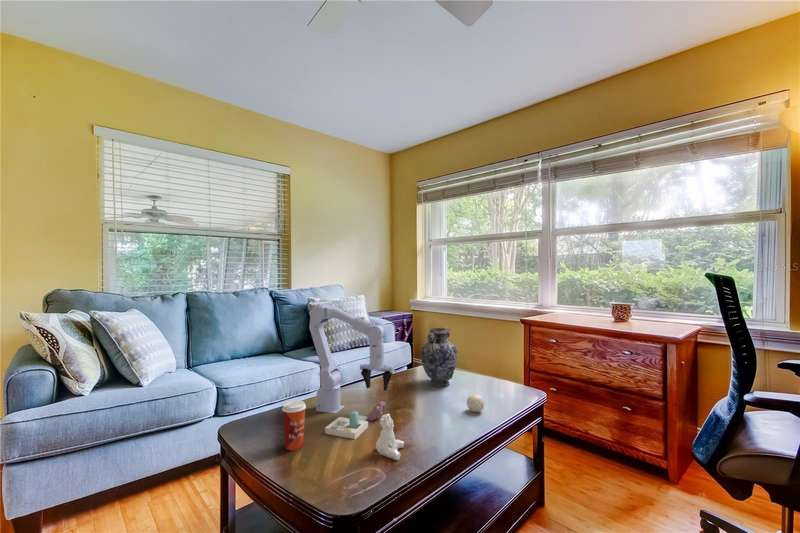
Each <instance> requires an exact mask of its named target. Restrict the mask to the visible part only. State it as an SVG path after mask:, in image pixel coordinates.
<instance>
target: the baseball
mask: <svg viewBox="0 0 800 533" xmlns="http://www.w3.org/2000/svg"><path fill="white" fill-rule="evenodd" d="M466 407H467V408H468V409H469V411H471V412H473V413H479V412H481V411H483V409H484V407H485V401H484V399H483V398H482V396H481V395H479V394H471V395H469V396H468V397H467V399H466Z"/></svg>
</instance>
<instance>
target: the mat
mask: <svg viewBox="0 0 800 533" xmlns="http://www.w3.org/2000/svg"><path fill="white" fill-rule="evenodd" d="M367 417H368V416H366V415H365V416H364V415H360V414H358V420H363V421H367Z"/></svg>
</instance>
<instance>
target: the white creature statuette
mask: <svg viewBox="0 0 800 533" xmlns="http://www.w3.org/2000/svg"><path fill="white" fill-rule="evenodd" d="M379 419H380V420H379V424H380V426H381V431H380V436H379V437H378V439H377V441H376V443H375V449H376V451H377V452H378V453H379V454H380V455H381V456H383V457H387V458H388V459H389V458H390V459H392V460H394V461H399V460H401V453H400V452H399V449H404V447H405V442H404V441H403V440H400V439H398V438H397V439H396V436H395V433H394V428H395V425H394V420H393V419H392V417H391V414H390V413H385V414H382V415H381V416H380V418H379Z"/></svg>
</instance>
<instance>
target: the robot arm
mask: <svg viewBox="0 0 800 533" xmlns="http://www.w3.org/2000/svg"><path fill="white" fill-rule="evenodd" d="M309 316H310V318H309V325H308V326H309V331H310V335H311V338H312V342H313V344H314V348H315V352H316V355H317V358H318V360H319V364H320V370H319V373H318V374H319V377H320V378H319V379H320V380H319V385H320V387H319V388H318V389H317V391H316V409H315V412H323V413H330V414H336V413H338V412H340V411H341V410H342V409H343V408H345V405H341V383H342V381H343V378H344V376H343V372H342V371H341V370H340V369H339V366H338V365H337V364H336V363H334V359H333V356H332V352H331V349H330V346H329V342H328V340H327V336H326V333H325V329H324V327H325V326H326V323H327V322H328V321H329V320H330V319H337V320H339V321H342V322H344V323H347V324H348V325H351V326H352V329H353V330H355V331H357V332H358V333H361V334H363V335H365V336H366V337H367V338H368V339H369V363H361V364H359V370H360V374H361V376H362V378H363V380H364V382H365V387H366V389H367V390H368V389H370V388H371V384H372V383H371V375H372V372H382V380H383V391H384V392H385V391H387V390H388V389H389V388H388V387H389V384H390V380H391V377H392V375H393V373H395V366H390V365H385V357H384V356H385V352H384V351H385V347H384V346H385V343H384V339H385V338H384V337H385V335H386V329H385V327H384V325H382V324H380V323H377V324H376V322H374V321H373V322H372V321H370V320H368V319H367V318H366V317H365V316H358V317H355V316H353V315H351V314H350V313H348V312H345V310H342V309H340V308H338V307H337V306H336V305H332V304H331V303H325V304H320V305H314V306H313V307H312V308H311V310H310V311H309ZM383 372H384V373H383Z"/></svg>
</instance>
